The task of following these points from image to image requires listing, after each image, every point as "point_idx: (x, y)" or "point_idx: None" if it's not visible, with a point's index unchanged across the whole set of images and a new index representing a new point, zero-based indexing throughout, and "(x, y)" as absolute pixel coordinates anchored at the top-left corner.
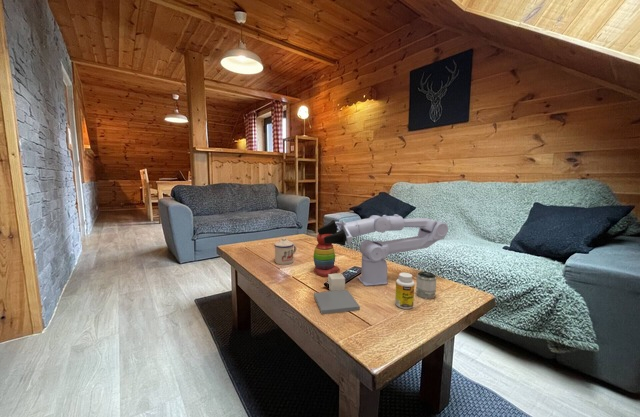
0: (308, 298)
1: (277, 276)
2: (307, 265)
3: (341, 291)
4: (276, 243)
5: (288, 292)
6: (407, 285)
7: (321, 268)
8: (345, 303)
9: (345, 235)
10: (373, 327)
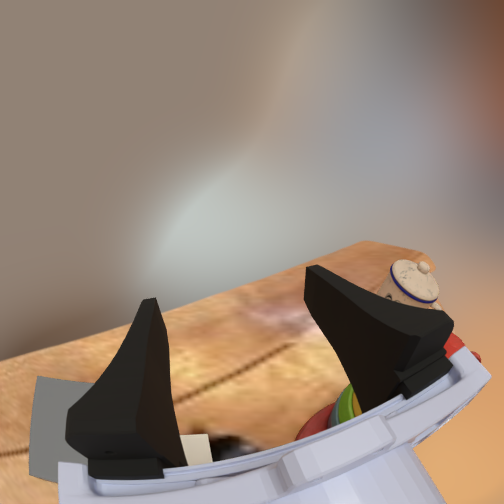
0: None
1: (287, 308)
2: None
3: None
4: (402, 261)
5: (176, 330)
6: None
7: (328, 420)
8: (51, 448)
9: (80, 453)
10: None
